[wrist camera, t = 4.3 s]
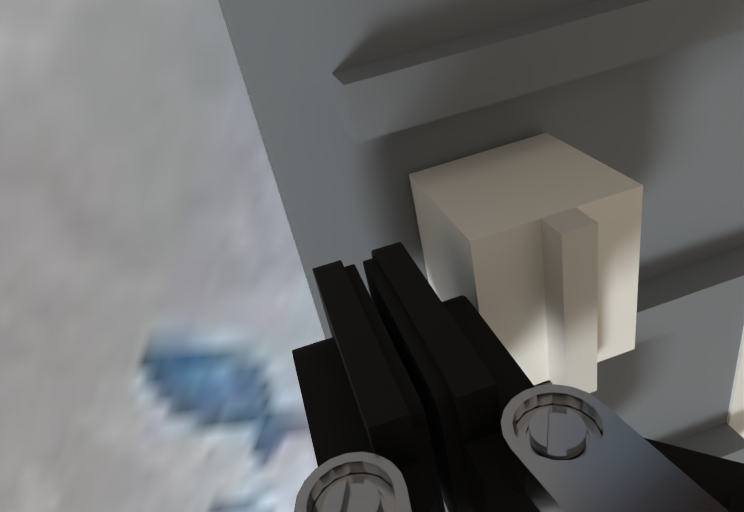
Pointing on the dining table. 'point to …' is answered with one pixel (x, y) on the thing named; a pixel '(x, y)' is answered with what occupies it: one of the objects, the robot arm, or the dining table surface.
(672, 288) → the switch board
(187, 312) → the dining table surface
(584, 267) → the tab
